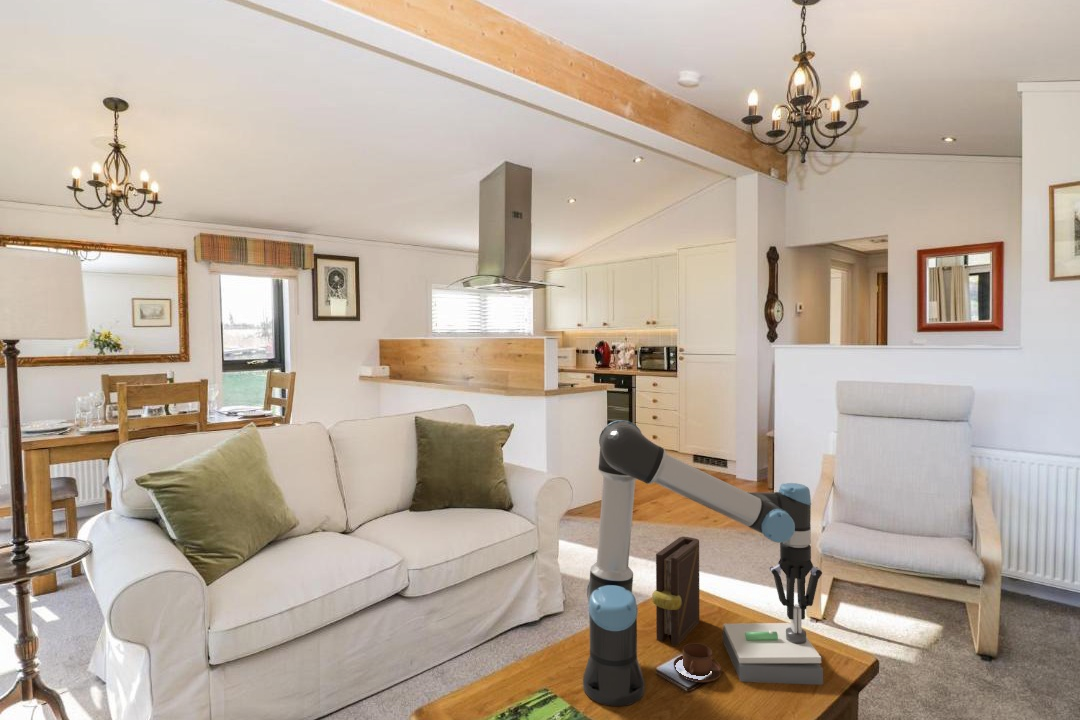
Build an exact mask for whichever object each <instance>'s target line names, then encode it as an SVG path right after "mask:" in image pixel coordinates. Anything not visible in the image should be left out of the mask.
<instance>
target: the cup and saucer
mask: <svg viewBox="0 0 1080 720" xmlns="http://www.w3.org/2000/svg"><path fill="white" fill-rule="evenodd" d="M682 659H683V666H684V668H685V670H686V671H687V672H689V673H690V674H691V675H696V676H705V675H708V674H709V673H710V671H712V676H711V677H709V678H708V679H706V680H698V679H693V678H689V677H686V676H684V675H682V674H681V673H679V672H678V671H677V670H676V667H675V665H676V663H677V662H678V661H679V660H682ZM673 669H674V671H676V672H677V674H678V673H679V674H680V675H679V674H678V675H679V676H680V677H682V676H683V677H682V678H684V677H685V678H687V679H686V680H688V679H689V680H688V681H690V680H693V681H692V682H694V681H697V682H696V683H710V682H713V681H716V680H717V679H719V677H721V675H722V672H723V671H722V666H721V665H720V664H719V663H718V662H717V661H716V660H715V659H713V651H712V649H711V648H710V647H709V646H707V645H705V644H701V643H696V642H694V643H693V642H692V643H691V642H690V643H687V644H685V645H684V646H683V647H682V655H680V656H678V657H676V659H674V661H673ZM685 678H684V679H685Z"/></svg>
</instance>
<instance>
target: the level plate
mask: <svg viewBox="0 0 1080 720" xmlns="http://www.w3.org/2000/svg"><path fill="white" fill-rule="evenodd" d="M723 627H724V631H725V633H726V635H727V637H728V639H729V641H730V644H731V646H732V648H733V650H734V652H735V655H736V657H737V659H738V661H739V663H819V664H822V656H821V655H820V653H819V652H818V651H817V649H816V648H815V647H814V646H813V644H812V643H811V641H810V640H809V639H808V637H807V631H806V630H804V629H803V628H802V633H798V632H797V633H794V632H793V631H792V629H791V622H765V623H764V622H759V623H755V622H754V623H752V622H751V623H750V622H749V623H748V622H747V623H746V622H744V623H735V622H734V623H723Z"/></svg>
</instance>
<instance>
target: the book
mask: <svg viewBox="0 0 1080 720" xmlns="http://www.w3.org/2000/svg"><path fill="white" fill-rule="evenodd" d="M655 575H656V576H655V580H656V581H655V588H656V589H655V590H654V591H652V595H651V600H652V603H653V604H654V605H655V607H656V608H655V609H656V610H655V611H656V613H655V616H656V617H655V618H656V628H655V629H656V631H655V633H656V641H658V642H660V643H661V642H664V640H666V638H667V637H669V635H670V637H671V638H670V639H671V646H674V647H678V646H679V645H680V644H681V643H682V642H683V641H684V640H685V638H686V637H688V635H689V634H690V633H691V632H692V631H693V630H694V629H695V628H696V627H697V625H698V624H699V623H700V539H698V538H695V537H689V536H680V537H678V538H676V539H675V540H674V541H672V542H670V543H669V544H668V545H666V547H664V548H662V549H661V550H659V551H658V552H657V553H656V554H655Z"/></svg>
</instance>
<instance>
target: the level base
mask: <svg viewBox="0 0 1080 720" xmlns="http://www.w3.org/2000/svg"><path fill="white" fill-rule="evenodd" d="M722 643H723V645H724V647H725V648H726V652H727V653H728V656H729V659H730V660H731V663H732V665H733V668H734V670H735V672H736V674H737V677H738V679H739V682H742V683H762V684H763V683H768V684H769V683H770V684H787V685H788V684H789V685H790V684H791V685H792V684H793V685H815V686H816V685H817V686H818V685H819V686H822V685H823V686H824V669H823V668H824V667H822V666H821V665H820V664H821V663H739V661H738V659H737V657H736V655H735V652H734V650H733V648H732V646H731V644H730V641H729V639H728V637H727V635H726V633H725V631H724V626H722Z"/></svg>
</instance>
